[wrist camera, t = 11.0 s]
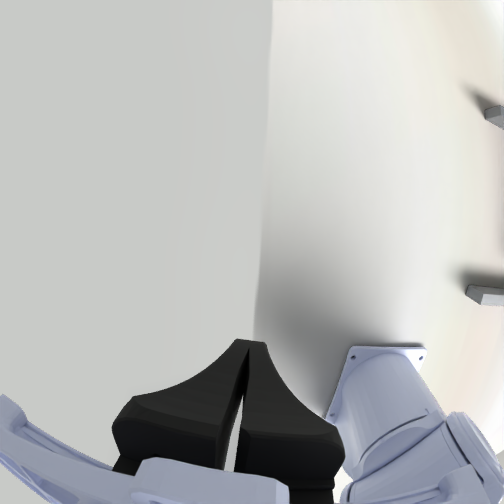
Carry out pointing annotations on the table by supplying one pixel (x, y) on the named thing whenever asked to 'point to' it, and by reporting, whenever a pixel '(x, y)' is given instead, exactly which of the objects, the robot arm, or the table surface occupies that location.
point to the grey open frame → (479, 293)
